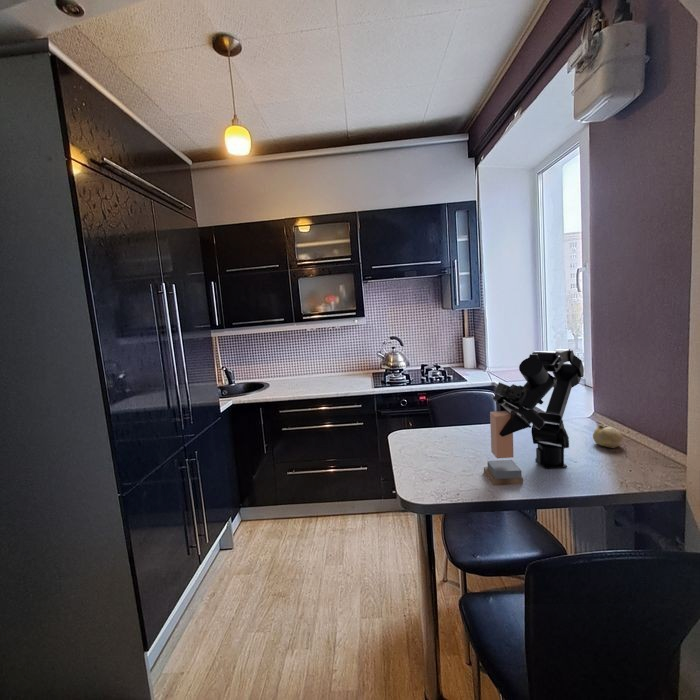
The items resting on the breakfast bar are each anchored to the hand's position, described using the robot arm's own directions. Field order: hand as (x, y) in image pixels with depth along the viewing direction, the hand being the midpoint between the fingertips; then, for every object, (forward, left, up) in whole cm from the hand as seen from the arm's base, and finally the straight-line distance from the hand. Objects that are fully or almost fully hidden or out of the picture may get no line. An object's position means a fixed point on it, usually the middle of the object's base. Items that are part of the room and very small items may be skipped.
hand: (496, 432), depth 103 cm
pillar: (-1, 0, -7) cm, 7 cm away
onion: (-42, -18, -14) cm, 48 cm away
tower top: (-2, 0, -12) cm, 12 cm away
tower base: (-1, 0, -14) cm, 14 cm away
